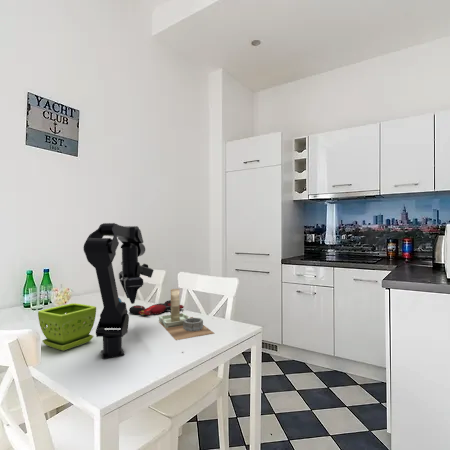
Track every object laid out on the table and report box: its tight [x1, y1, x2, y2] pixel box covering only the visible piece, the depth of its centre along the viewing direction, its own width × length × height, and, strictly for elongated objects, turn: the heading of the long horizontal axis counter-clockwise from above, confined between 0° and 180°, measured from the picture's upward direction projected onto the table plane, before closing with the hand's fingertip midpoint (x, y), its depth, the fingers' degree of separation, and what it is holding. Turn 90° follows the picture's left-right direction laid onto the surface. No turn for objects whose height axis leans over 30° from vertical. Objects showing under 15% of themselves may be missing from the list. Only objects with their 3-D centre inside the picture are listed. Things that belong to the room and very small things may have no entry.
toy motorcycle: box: [128, 299, 185, 316], centre depth 150 cm, size 25×5×16 cm
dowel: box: [170, 288, 181, 322], centre depth 130 cm, size 4×4×13 cm
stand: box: [158, 312, 215, 341], centre depth 124 cm, size 26×15×4 cm, turn 26°
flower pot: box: [37, 302, 97, 351], centre depth 109 cm, size 14×14×13 cm
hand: (130, 300), depth 118 cm, fingers open, 9 cm apart
